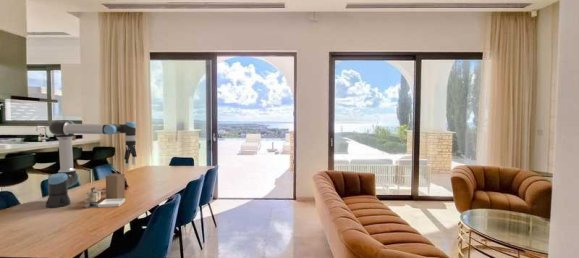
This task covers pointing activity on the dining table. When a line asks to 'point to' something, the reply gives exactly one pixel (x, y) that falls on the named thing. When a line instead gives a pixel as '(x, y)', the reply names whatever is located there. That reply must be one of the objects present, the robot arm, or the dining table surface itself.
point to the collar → (93, 196)
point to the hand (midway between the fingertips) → (130, 165)
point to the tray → (111, 202)
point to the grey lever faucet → (91, 204)
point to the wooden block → (115, 186)
